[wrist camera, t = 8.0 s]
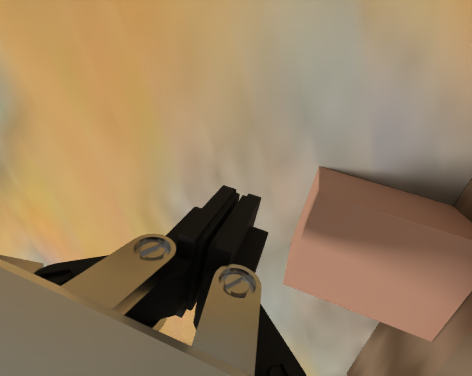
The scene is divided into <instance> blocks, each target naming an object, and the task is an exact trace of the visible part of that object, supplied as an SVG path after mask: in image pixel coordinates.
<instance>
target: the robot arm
mask: <svg viewBox="0 0 472 376" xmlns="http://www.w3.org/2000/svg"><path fill="white" fill-rule="evenodd" d="M239 195H240V194H238V193H236V189H234V188H231V187H228V186H225V185H223V186H222V187H221V188H220V189H219V191H218V192H217V193H216V194H215V195H214V196H213V197H212V198H211V199H210V200H209V201H208V202H207V204H206V205H205V206H204V207H203V208H202V209H201V208H199V207H194V208H193V209H192V210H191V211H190V212H189V213H188V214H187V215H186V216H185V217H184V218H183V219H182V220H181V221H180V222H179V223H178V224H177V225H176V226H175V227H174V228H173V229H172V230H171V231H170V232H169V233H168V234H167V235H166V236H163V235H160V234H146V235H142V236H139V237H137V238H135V239H134V240H132V241H130V242H129V243H127V244H126V245H124V246H123V247H121V248H120V249H118V250H116V251H115V252H113V253H112V254H110V255H107V256H101V257H94V258H88V259H81V260H75V261H68V262H62V263H56V264H52V265H48V266H46V267H44V264H43V263H38V262H33V261H28V260H23V259H18V258H13V257H8V256H3V255H0V376H306V374H305V372H304V370H303V369H302V367H301V366H300V364H299V363H298V361H297V360H296V358H295V356H294V355H293V353H292V352H291V350H290V349H289V347H288V346H287V344H286V343H285V341H284V339H283V338H282V336H281V335H280V333H279V332H278V330H277V329H276V327H275V325H274V324H273V322H272V321H271V319H270V318H269V316H268V315H267V313H266V312H265V310H264V308H263V307H262V305H261V304H260V299H261V282H260V280H259V278H258V276H257V275H256V274H255V272H256V269H257V266H258V263H259V260H260V257H261V254H262V251H263V248H264V245H265V242H266V239H267V236H268V232H266V231H263V230H261V229H258V228H255V227H253V225H254V222H255V218H256V215H257V211H258V208H259V205H260V201H261V197H258V196H255V195H252V194H248V195H247V196H244V195H243V196H242V197H241V199H240V200H239ZM238 200H239V201H238ZM196 302H197V304H196ZM195 304H196V309H195V317H194V322H193V323H194V326H195V328H196V334H195V337H194V340H193V343H192V346H189V345H187V344H185V343H182V342H180V341H178V340H176V339H174V338H172V337H170V336H167V335H165V334H163V333H161V332H159V330H160V329H161V328H162V327H163V325H164V324H165V322H166V318H167V317H170V316H174V315H176V316H179V317H181V318H182V316H183V315H184V313H185V311H186V309H188V310H190V311H191V310H192V309H193V307H194V306H195Z"/></svg>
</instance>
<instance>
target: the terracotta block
mask: <svg viewBox="0 0 472 376" xmlns="http://www.w3.org/2000/svg"><path fill="white" fill-rule="evenodd" d="M283 284H285V285H288V286H290V287H293V288H295V289H298V290H301V291H303V292H306V293H308V294H311V295H313V296H316V297H318V298H321V299H323V300H326V301H329V302H331V303H334V304H336V305H339V306H341V307H344V308H346V309H349V310H351V311H354V312H357V313H359V314H362V315H364V316H367V317H369V318H372V319H374V320H377V321H380V322H382V323H385V324H387V325H390V326H392V327H395V328H397V329H400V330H402V331H405V332H408V333H410V334H413V335H415V336H418V337H420V338H423V339H425V340H428V341H431V342H432V341H433V340H434V338H435V337H436V336H437V335H438V333H439V332H440V331H441V329H442V328H443V327H444V326H445V324H446V323H447V322H448V321H449V319H450V318H451V317H452V315H453V314H454V313H455V312H456V310H457V309H458V308H459V307H460V305H461V304H462V303H463V301H464V300H465V299H466V298H467V296H468V295H469V294H470V293H471V291H472V222H471V221H470V220H468V219H467V218H466V217H465V216H464V215H463V214H461V213H460V212H459V211H458V210H457V209H456V208H455V207H453V206H452V205H448V204H445V203H441V202H438V201H435V200H431V199H428V198H425V197H421V196H418V195H414V194H411V193H408V192H404V191H401V190H397V189H394V188H391V187H387V186H384V185H381V184H377V183H374V182H370V181H367V180H364V179H360V178H357V177H354V176H350V175H347V174H343V173H340V172H337V171H333V170H330V169H326V168H323V167H320V166H319V168H318V171H317V174H316V176H315V179H314V182H313V184H312V187H311V190H310V192H309V195H308V198H307V200H306V203H305V206H304V209H303V211H302V214H301V217H300V219H299V222H298V225H297V227H296V230H295V233H294V236H293V238H292V241H291V246H290V251H289V256H288V261H287V267H286V272H285V277H284V282H283Z"/></svg>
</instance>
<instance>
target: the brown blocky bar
mask: <svg viewBox="0 0 472 376" xmlns="http://www.w3.org/2000/svg"><path fill="white" fill-rule="evenodd" d="M454 207H455V208H456V209H457V210H458V211H459V212H460V213H461V214H463V215H464V216H465V217H466V218H467V219H468V220H470V221H471V222H472V179H471V181H470V182H469V184H468V185H467V187H466V188H465V190H464V192H463V193H462V195H461V196H460V198H459V199H458V201H457V202H456V204H455V206H454ZM347 376H472V291H471V293H470V294H469V295H468V296H467V298H466V299H465V300H464V301H463V303H462V304H461V305H460V307H459V308H458V309H457V310H456V312H455V313H454V314H453V315H452V317H451V318H450V319H449V321H448V322H447V323H446V324H445V326H444V327H443V328H442V329H441V331H440V332H439V333H438V335H437V336H436V337H435V338H434V340H433V341H432V342H431V341H428V340H425V339H423V338H420V337H418V336H415V335H413V334H410V333H408V332H405V331H402V330H400V329H397V328H395V327H392V326H390V325H387V324H385V323H382V322H380V323H379V324H378V326H377V327H376V329H375V330H374V332H373V333H372V335H371V337H370V338H369V340H368V341H367V343H366V344H365V346H364V347H363V349H362V351H361V352H360V354H359V355H358V357H357V358H356V360H355V362H354V363H353V365H352V366H351V368H350V369H349V371H348V372H347Z"/></svg>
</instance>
